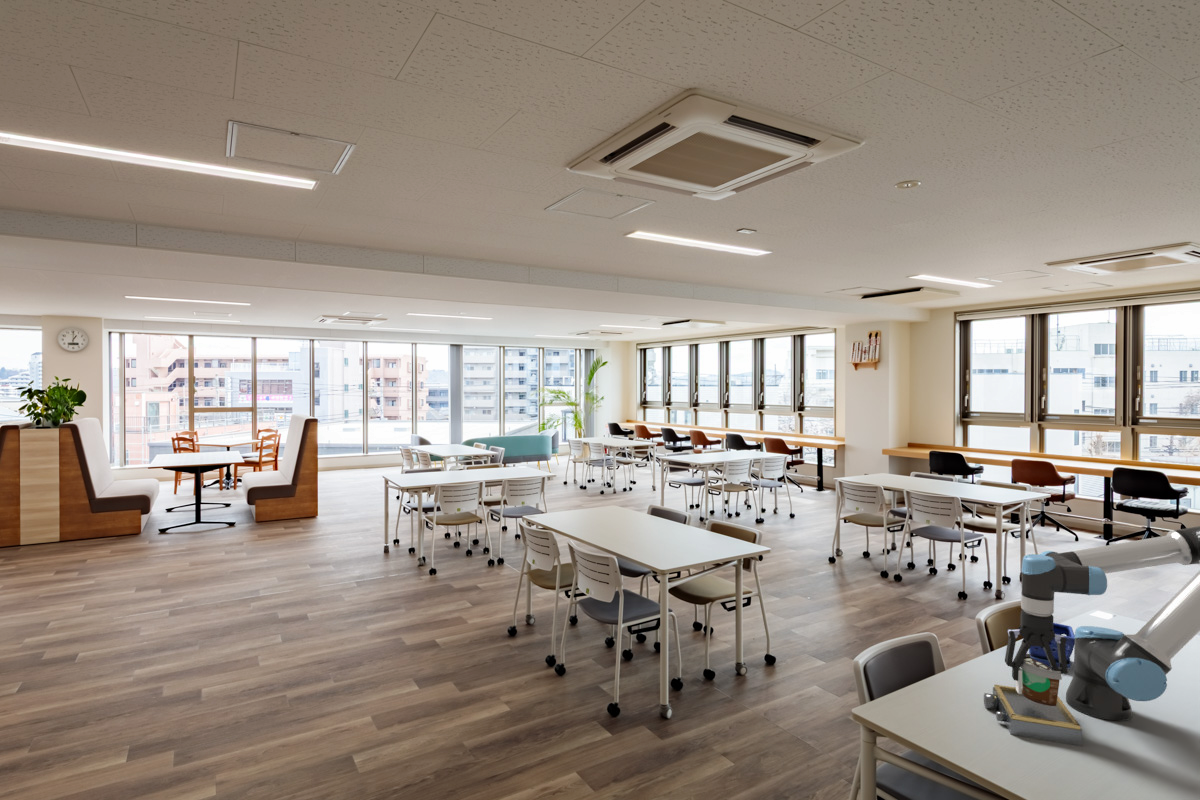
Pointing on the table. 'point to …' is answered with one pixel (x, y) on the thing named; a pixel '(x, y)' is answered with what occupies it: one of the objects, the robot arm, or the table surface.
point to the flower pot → (1055, 646)
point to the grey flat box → (1033, 716)
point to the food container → (1039, 682)
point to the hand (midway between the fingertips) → (1034, 694)
